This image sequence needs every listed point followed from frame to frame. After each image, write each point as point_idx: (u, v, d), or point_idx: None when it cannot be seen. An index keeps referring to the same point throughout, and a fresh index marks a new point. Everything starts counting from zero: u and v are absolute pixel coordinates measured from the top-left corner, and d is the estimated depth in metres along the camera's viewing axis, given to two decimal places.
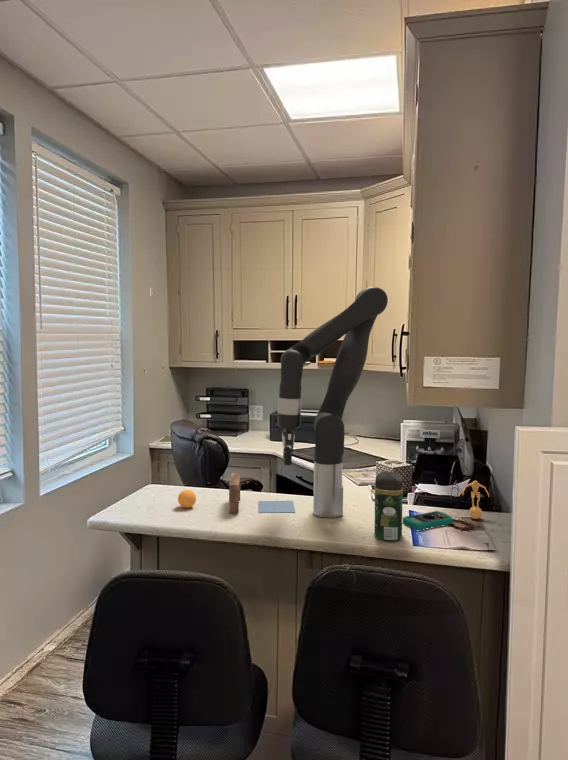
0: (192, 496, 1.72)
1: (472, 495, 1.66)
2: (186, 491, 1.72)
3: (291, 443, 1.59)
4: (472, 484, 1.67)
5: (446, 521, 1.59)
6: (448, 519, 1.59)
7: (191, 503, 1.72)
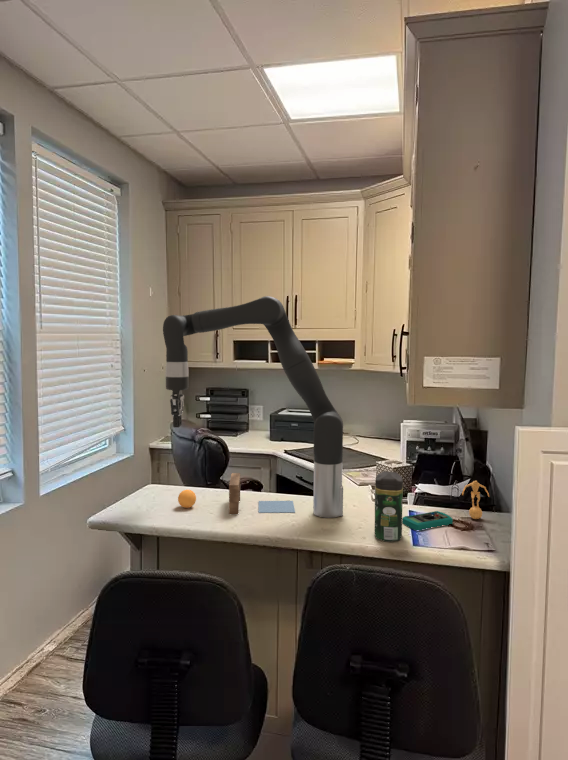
0: (192, 496, 1.72)
1: (472, 495, 1.66)
2: (186, 491, 1.72)
3: (176, 408, 1.69)
4: (472, 484, 1.67)
5: (446, 521, 1.59)
6: (448, 519, 1.59)
7: (191, 503, 1.72)
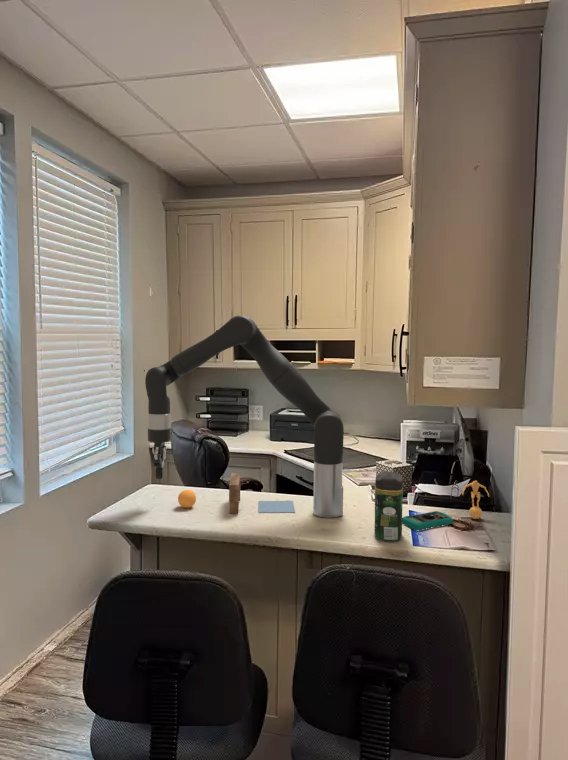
0: (192, 496, 1.72)
1: (472, 495, 1.66)
2: (186, 491, 1.72)
3: (158, 462, 1.68)
4: (472, 484, 1.67)
5: (446, 521, 1.59)
6: (448, 519, 1.59)
7: (191, 503, 1.72)
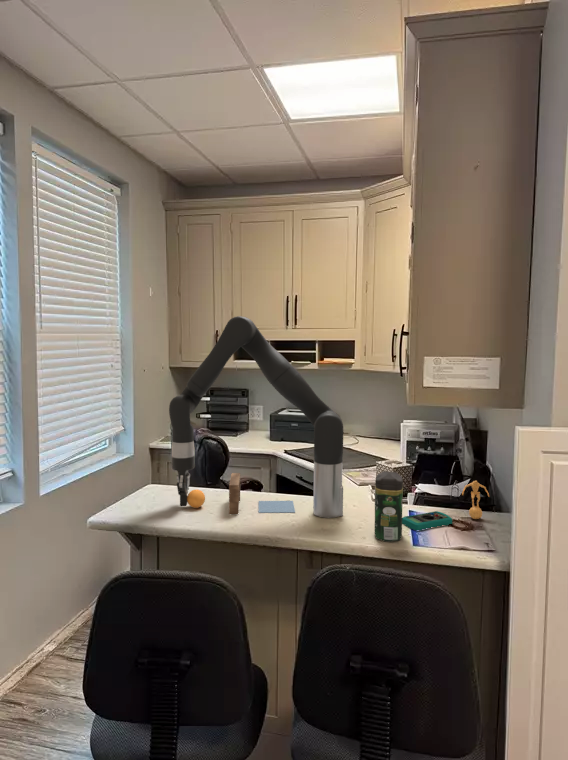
0: (202, 501, 1.72)
1: (472, 495, 1.66)
2: (201, 493, 1.73)
3: (183, 490, 1.68)
4: (472, 484, 1.67)
5: (445, 521, 1.59)
6: (448, 519, 1.59)
7: (197, 506, 1.72)
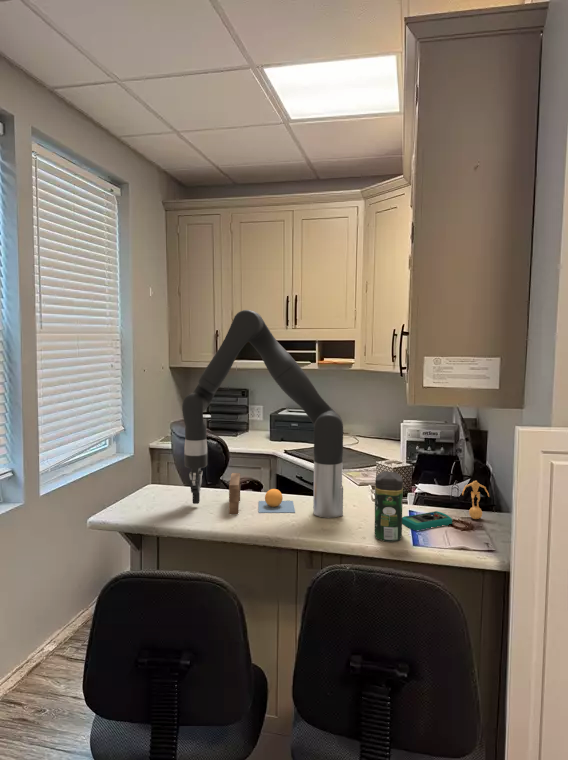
0: (268, 503, 1.74)
1: (472, 495, 1.66)
2: (274, 506, 1.75)
3: (196, 487, 1.69)
4: (472, 484, 1.67)
5: (445, 521, 1.59)
6: (447, 519, 1.59)
7: (268, 497, 1.73)
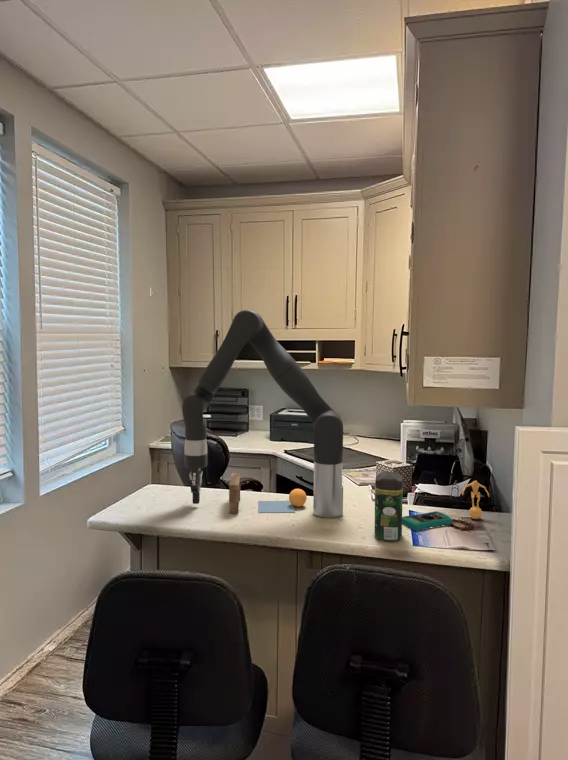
0: (302, 493, 1.74)
1: (472, 495, 1.66)
2: (294, 491, 1.75)
3: (196, 487, 1.69)
4: (472, 484, 1.67)
5: (445, 521, 1.59)
6: (447, 519, 1.59)
7: (304, 500, 1.74)
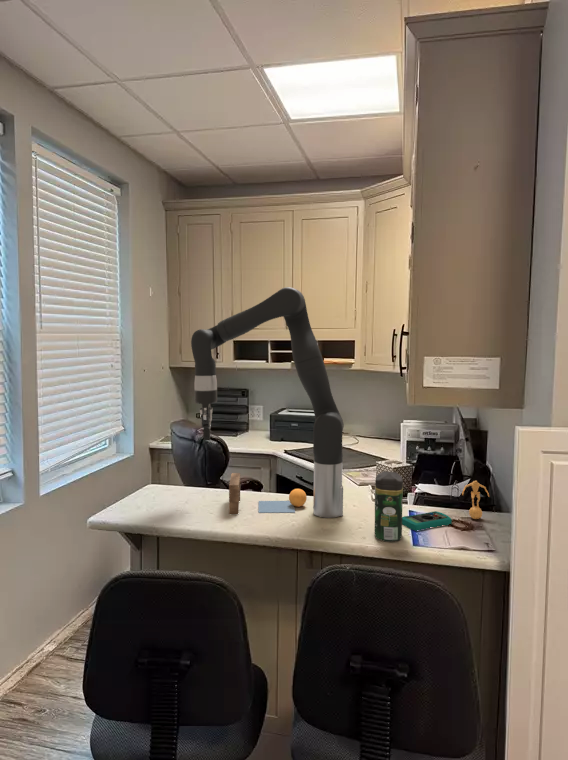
0: (302, 493, 1.74)
1: (472, 495, 1.66)
2: (294, 491, 1.75)
3: (207, 422, 1.71)
4: (472, 484, 1.67)
5: (445, 521, 1.59)
6: (447, 519, 1.59)
7: (304, 500, 1.74)
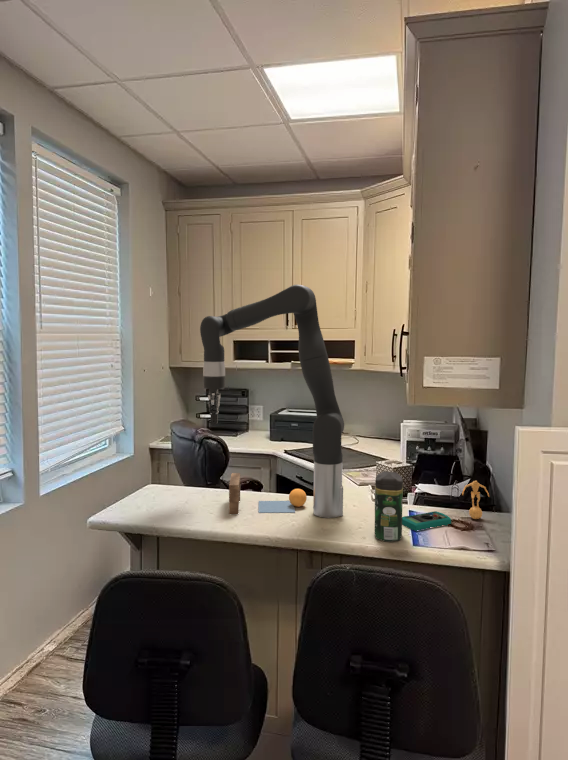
0: (302, 493, 1.74)
1: (472, 495, 1.66)
2: (294, 491, 1.75)
3: (215, 407, 1.74)
4: (472, 484, 1.67)
5: (444, 521, 1.59)
6: (447, 519, 1.59)
7: (304, 500, 1.74)
